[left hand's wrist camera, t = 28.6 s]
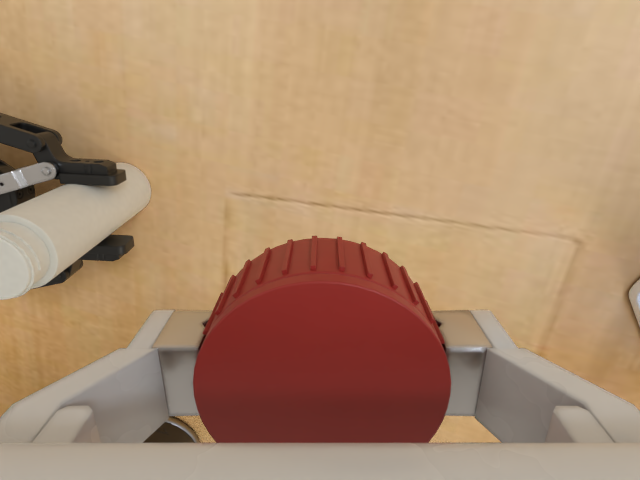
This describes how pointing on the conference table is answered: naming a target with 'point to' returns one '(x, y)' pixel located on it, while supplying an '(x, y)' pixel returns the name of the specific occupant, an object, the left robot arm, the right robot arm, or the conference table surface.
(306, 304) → the lid
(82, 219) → the white bottle
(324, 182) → the conference table surface
